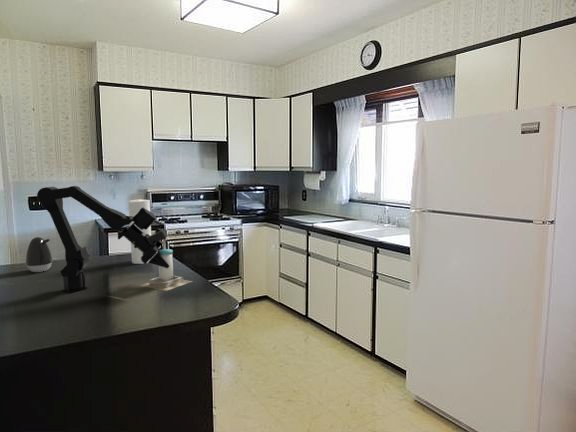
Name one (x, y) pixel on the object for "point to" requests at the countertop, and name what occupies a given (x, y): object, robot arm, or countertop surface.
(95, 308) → the countertop surface
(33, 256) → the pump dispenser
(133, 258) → the cylinder container
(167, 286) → the housing
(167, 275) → the white tall cylindrical piece
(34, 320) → the countertop surface
